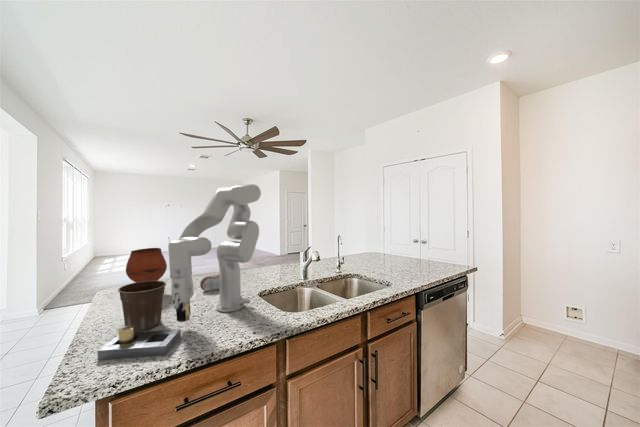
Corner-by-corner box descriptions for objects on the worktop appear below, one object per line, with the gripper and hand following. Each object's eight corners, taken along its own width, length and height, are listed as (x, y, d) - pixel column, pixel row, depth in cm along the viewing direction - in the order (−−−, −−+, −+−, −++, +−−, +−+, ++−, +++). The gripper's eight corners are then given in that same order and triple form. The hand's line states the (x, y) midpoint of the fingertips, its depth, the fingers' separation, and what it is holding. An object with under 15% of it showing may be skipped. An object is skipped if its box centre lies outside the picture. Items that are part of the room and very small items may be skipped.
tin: (226, 286, 160) (226, 273, 160) (228, 288, 158) (228, 274, 158) (200, 292, 151) (199, 277, 151) (201, 293, 148) (201, 278, 148)
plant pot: (171, 325, 107) (170, 285, 107) (122, 339, 96) (121, 295, 96) (161, 314, 119) (160, 278, 119) (116, 325, 108) (115, 285, 108)
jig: (180, 337, 97) (180, 318, 97) (165, 355, 85) (165, 333, 85) (121, 341, 95) (121, 321, 94) (97, 360, 83) (97, 337, 83)
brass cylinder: (191, 317, 106) (190, 299, 106) (187, 321, 102) (186, 303, 102) (180, 318, 106) (179, 300, 105) (176, 322, 102) (175, 304, 101)
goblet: (160, 287, 160) (159, 246, 160) (172, 293, 148) (171, 249, 147) (121, 295, 146) (120, 250, 145) (131, 303, 133) (130, 253, 133)
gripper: (183, 277, 95) (186, 327, 96) (198, 265, 112) (200, 308, 113) (160, 279, 94) (164, 329, 95) (179, 266, 111) (182, 309, 112)
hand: (183, 317), depth 104 cm, fingers closed on brass cylinder, 4 cm apart
